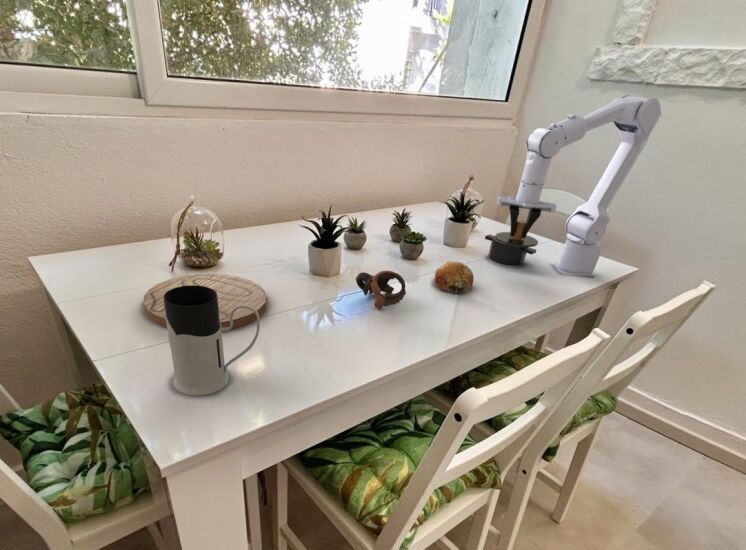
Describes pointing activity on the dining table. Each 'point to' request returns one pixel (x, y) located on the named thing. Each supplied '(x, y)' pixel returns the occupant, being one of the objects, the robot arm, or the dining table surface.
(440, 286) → the bread roll
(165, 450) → the dining table surface
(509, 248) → the pot
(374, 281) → the brown curved loop
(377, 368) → the dining table surface
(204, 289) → the glass holder
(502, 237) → the lid
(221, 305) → the trivet
